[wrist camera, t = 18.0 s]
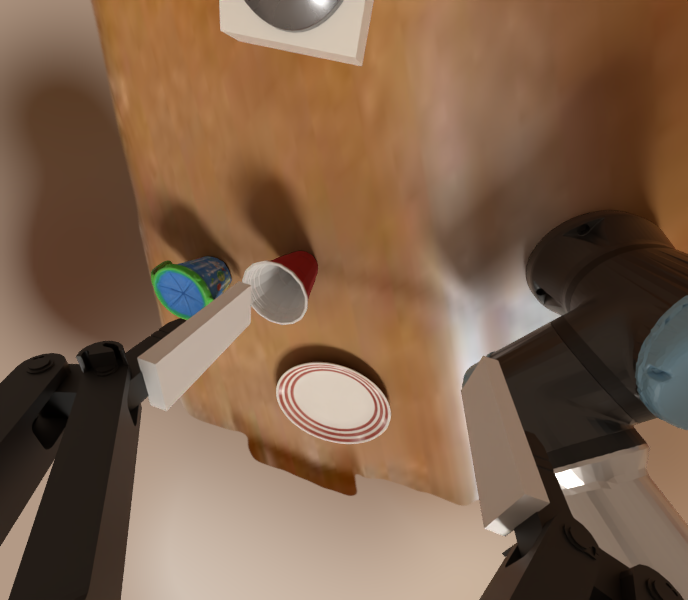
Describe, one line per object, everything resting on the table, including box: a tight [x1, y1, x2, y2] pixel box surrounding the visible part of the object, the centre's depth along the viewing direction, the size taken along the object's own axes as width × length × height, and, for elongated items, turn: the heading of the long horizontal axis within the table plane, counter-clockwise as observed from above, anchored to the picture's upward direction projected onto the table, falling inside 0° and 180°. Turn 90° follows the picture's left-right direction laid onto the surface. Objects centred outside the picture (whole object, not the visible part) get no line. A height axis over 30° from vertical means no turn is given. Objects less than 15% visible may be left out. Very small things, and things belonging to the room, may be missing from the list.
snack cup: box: [151, 256, 231, 320], centre depth 52 cm, size 16×10×10 cm
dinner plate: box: [276, 362, 391, 444], centre depth 65 cm, size 28×27×3 cm
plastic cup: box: [242, 251, 318, 325], centre depth 45 cm, size 11×11×12 cm
